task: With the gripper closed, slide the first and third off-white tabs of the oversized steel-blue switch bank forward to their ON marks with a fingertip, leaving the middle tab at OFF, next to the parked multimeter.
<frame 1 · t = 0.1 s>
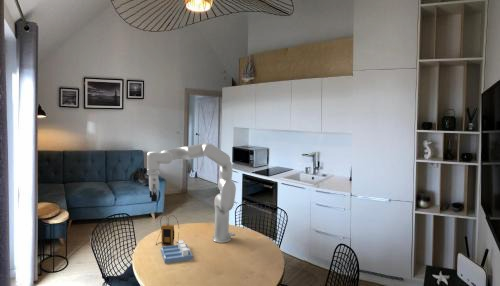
hand: (153, 199, 201), 31 cm above the table, tool pointing down, fingers open, 9 cm apart
multimeter: (169, 243, 212), on the table
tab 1: (181, 244, 201), point 4 cm above the table, slide at 0.0 cm
tab 3: (185, 252, 190), point 4 cm above the table, slide at 0.0 cm
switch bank: (176, 255, 194), on the table
tab 2: (183, 248, 195), point 4 cm above the table, slide at 0.0 cm
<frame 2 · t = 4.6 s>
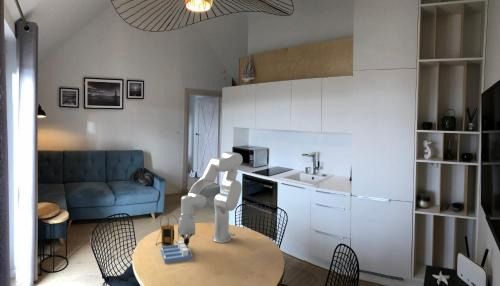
hand: (186, 244, 202), 3 cm above the table, tool pointing down, fingers closed
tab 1: (180, 244, 201), point 4 cm above the table, slide at 0.2 cm, touching gripper
everything else where it was.
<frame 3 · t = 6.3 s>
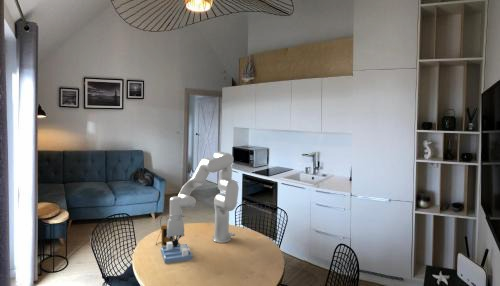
hand: (175, 246, 199), 3 cm above the table, tool pointing down, fingers closed
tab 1: (169, 246, 198), point 4 cm above the table, slide at 7.1 cm, touching gripper
everything else where it was.
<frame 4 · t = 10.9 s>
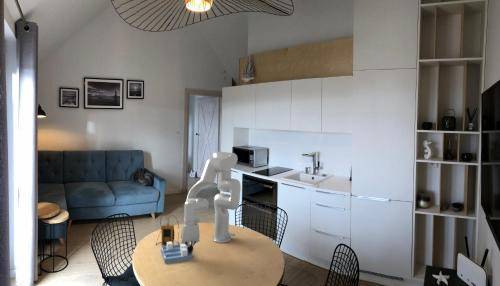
hand: (190, 252, 191), 3 cm above the table, tool pointing down, fingers closed
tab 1: (169, 246, 198), point 4 cm above the table, slide at 7.1 cm
tab 3: (184, 252, 190), point 4 cm above the table, slide at 0.5 cm, touching gripper
everything else where it was.
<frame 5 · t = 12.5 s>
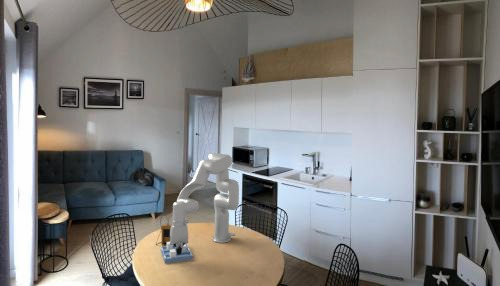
hand: (178, 253, 188), 3 cm above the table, tool pointing down, fingers closed
tab 3: (172, 253, 187), point 4 cm above the table, slide at 7.1 cm, touching gripper
everything else where it was.
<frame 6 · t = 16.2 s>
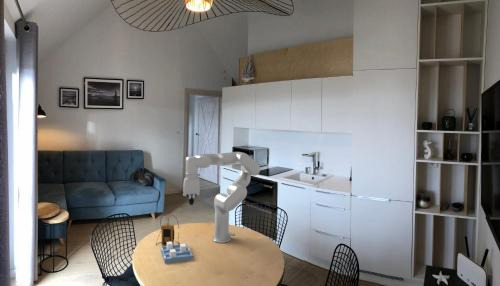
hand: (191, 204, 206), 27 cm above the table, tool pointing down, fingers closed
tab 3: (172, 253, 187), point 4 cm above the table, slide at 7.1 cm
everything else where it was.
at the end: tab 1 slide at 7.1 cm; tab 3 slide at 7.1 cm; tab 2 slide at 0.0 cm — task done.
